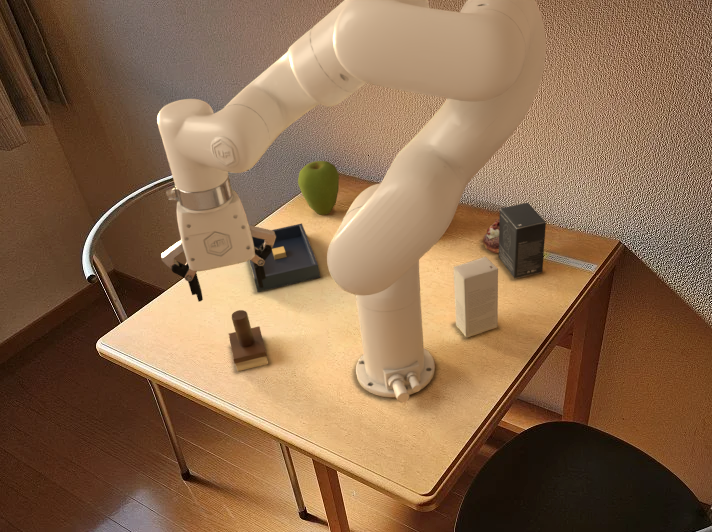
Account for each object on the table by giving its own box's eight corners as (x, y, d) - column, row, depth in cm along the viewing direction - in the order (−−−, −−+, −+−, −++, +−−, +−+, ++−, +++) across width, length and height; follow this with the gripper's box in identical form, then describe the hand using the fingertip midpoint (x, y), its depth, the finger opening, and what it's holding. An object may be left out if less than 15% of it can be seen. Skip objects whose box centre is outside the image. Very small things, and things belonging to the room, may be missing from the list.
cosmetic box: (486, 314, 127) (486, 255, 118) (498, 328, 124) (499, 268, 115) (454, 325, 125) (452, 266, 117) (465, 339, 122) (464, 279, 114)
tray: (320, 277, 140) (318, 264, 138) (257, 292, 138) (254, 279, 136) (304, 236, 152) (301, 223, 150) (246, 249, 150) (242, 236, 148)
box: (543, 272, 134) (546, 221, 127) (513, 279, 133) (516, 228, 126) (525, 251, 140) (528, 201, 132) (497, 257, 139) (498, 207, 132)
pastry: (475, 239, 144) (475, 217, 141) (509, 228, 146) (510, 206, 142) (496, 259, 138) (497, 236, 135) (531, 247, 140) (532, 224, 137)
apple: (334, 198, 162) (327, 148, 154) (350, 214, 156) (343, 163, 149) (298, 209, 160) (289, 160, 152) (312, 226, 154) (303, 175, 146)
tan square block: (286, 257, 145) (285, 252, 145) (274, 260, 145) (273, 254, 144) (284, 251, 147) (283, 246, 146) (272, 253, 147) (271, 248, 146)
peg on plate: (269, 364, 123) (258, 323, 117) (237, 372, 122) (225, 331, 116) (262, 338, 128) (252, 298, 122) (232, 346, 127) (220, 306, 121)
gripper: (144, 216, 100) (177, 315, 112) (268, 191, 103) (288, 291, 114) (142, 191, 106) (174, 288, 117) (260, 168, 108) (280, 265, 120)
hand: (230, 289), depth 116 cm, fingers open, 9 cm apart
